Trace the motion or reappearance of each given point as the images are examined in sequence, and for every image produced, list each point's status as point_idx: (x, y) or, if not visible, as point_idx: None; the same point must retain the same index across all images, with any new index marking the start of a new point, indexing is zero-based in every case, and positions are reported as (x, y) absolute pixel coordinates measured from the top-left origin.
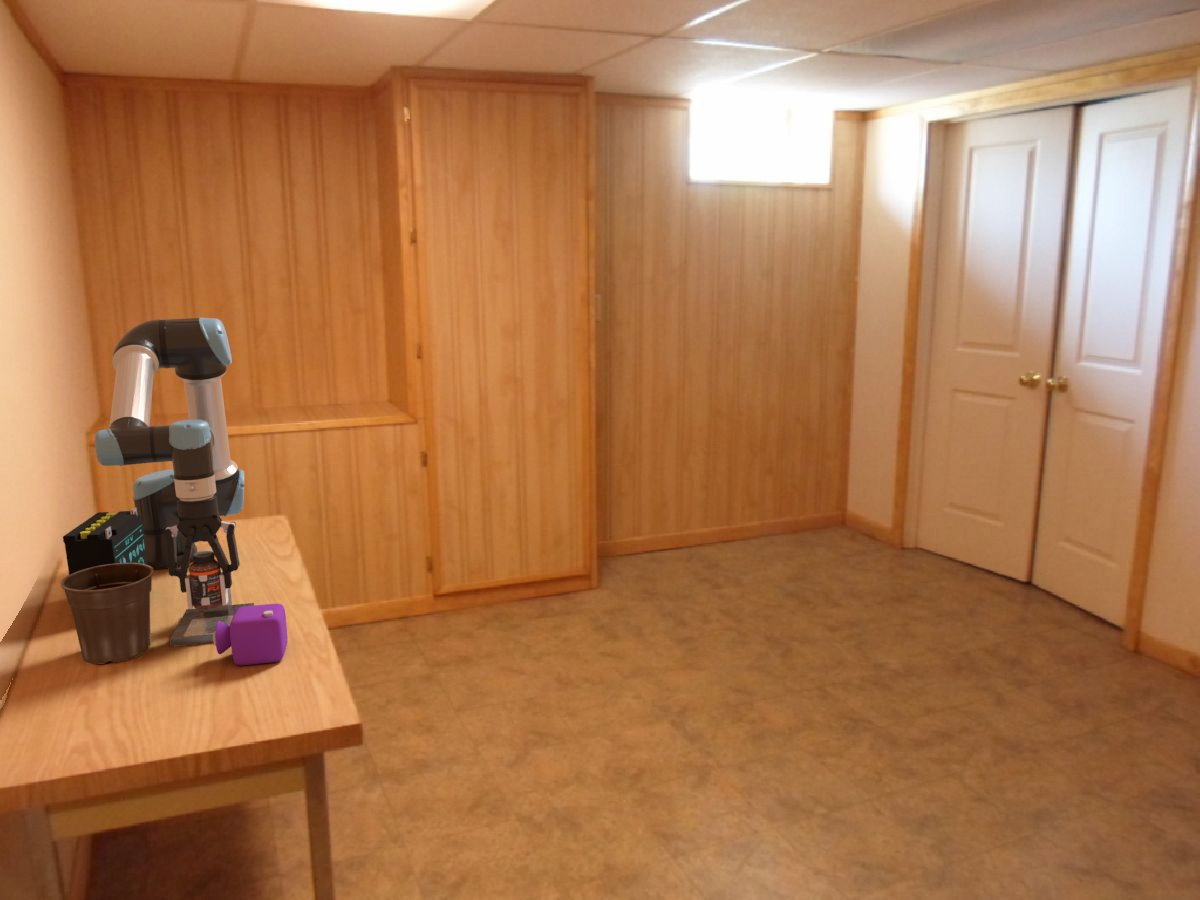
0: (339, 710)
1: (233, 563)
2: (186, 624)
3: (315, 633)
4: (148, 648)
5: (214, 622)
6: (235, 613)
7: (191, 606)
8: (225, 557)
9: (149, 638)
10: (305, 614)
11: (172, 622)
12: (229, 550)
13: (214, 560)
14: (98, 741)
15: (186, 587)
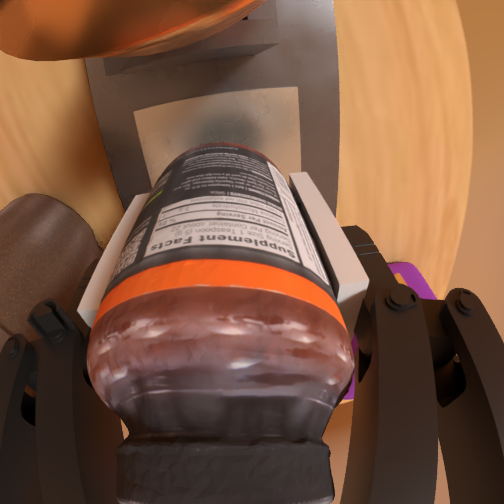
0: None
1: (438, 383)
2: (129, 142)
3: (460, 211)
4: (103, 252)
5: None
6: (352, 381)
7: None
8: (425, 406)
9: (94, 258)
10: (460, 88)
11: (65, 71)
12: (451, 474)
13: (322, 431)
14: None
15: None
